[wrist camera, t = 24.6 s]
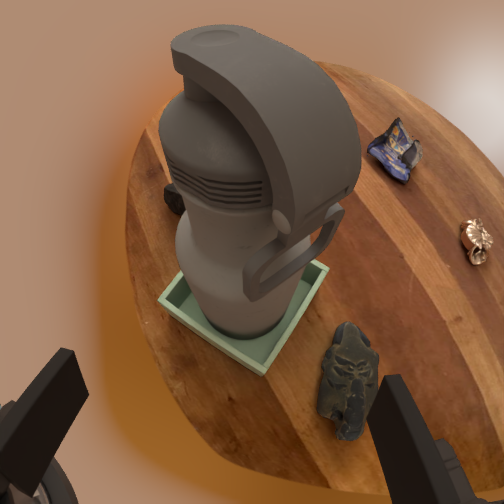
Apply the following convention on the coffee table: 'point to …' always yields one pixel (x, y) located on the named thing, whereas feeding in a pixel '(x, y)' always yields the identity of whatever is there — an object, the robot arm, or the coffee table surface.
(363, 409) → the stone
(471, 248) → the ornament
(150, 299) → the coffee table surface
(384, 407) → the robot arm
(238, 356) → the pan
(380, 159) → the snack package
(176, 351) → the coffee table surface
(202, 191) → the water bottle
